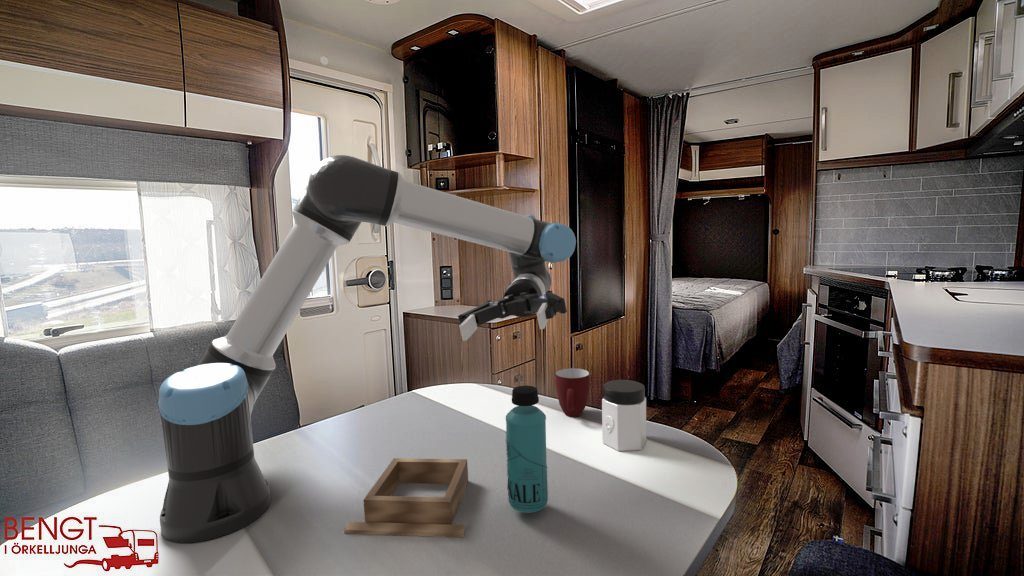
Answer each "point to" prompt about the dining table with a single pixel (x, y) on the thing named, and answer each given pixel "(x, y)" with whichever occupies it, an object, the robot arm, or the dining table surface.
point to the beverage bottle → (526, 452)
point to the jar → (624, 415)
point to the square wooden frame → (414, 500)
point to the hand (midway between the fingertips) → (500, 327)
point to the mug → (572, 390)
